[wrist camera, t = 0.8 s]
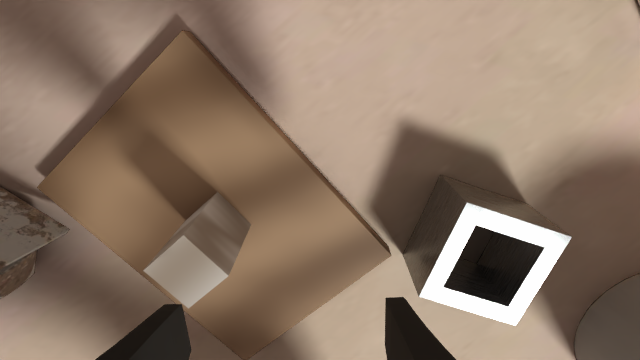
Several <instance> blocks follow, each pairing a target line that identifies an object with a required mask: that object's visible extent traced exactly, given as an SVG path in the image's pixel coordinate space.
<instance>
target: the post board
mask: <svg viewBox="0 0 640 360" xmlns="http://www.w3.org/2000/svg"><path fill="white" fill-rule="evenodd" d="M37 188H38V189H39V190H40V191H42V192H43V193H44V194H45V195H46V196H47V197H49V198H50V199H51V200H52V201H53V202H55V203H56V204H57V205H58V206H59V207H61V208H62V209H63V210H64V211H65V212H67V213H68V214H69V215H70V216H71V217H73V218H74V219H75V220H76V221H77V222H79V223H80V224H81V225H82V226H83V227H85V228H86V229H87V230H88V231H89V232H91V233H92V234H93V235H94V236H95V237H97V238H98V239H99V240H100V241H101V242H103V243H104V244H105V245H106V246H107V247H109V248H110V249H111V250H112V251H113V252H115V253H116V254H117V255H118V256H119V257H121V258H122V259H123V260H124V261H125V262H127V263H128V264H129V265H130V266H131V267H133V268H134V269H135V270H136V271H137V272H138V273H140V274H141V275H142V276H143V277H144V278H146V279H147V280H148V281H149V282H150V283H152V284H153V285H154V286H155V287H156V288H158V289H159V290H160V291H161V292H162V293H164V294H165V295H166V296H167V297H168V298H170V299H171V300H172V301H173V302H174V303H176V304H182V307H183V310H184V311H185V312H186V313H188V314H189V315H190V316H191V317H192V318H194V319H195V320H196V321H197V322H198V323H200V324H201V325H202V326H203V327H204V328H206V329H207V330H208V331H209V332H210V333H212V334H213V335H214V336H215V337H216V338H218V339H219V340H220V341H221V342H222V343H224V344H225V345H226V346H227V347H228V348H229V349H231V350H232V351H233V352H234V353H235V354H237V355H238V356H239V357H240V358H241V359H243V360H247V359H249V358H250V357H251V356H253V355H254V354H256V353H257V352H258V351H260V350H261V349H263V348H264V347H265V346H267V345H268V344H269V343H271V342H272V341H274V340H275V339H276V338H278V337H279V336H281V335H282V334H283V333H285V332H286V331H287V330H289V329H290V328H292V327H293V326H294V325H296V324H297V323H299V322H300V321H301V320H303V319H304V318H305V317H307V316H308V315H310V314H311V313H312V312H314V311H315V310H317V309H318V308H319V307H321V306H322V305H323V304H325V303H326V302H328V301H329V300H330V299H332V298H333V297H335V296H336V295H337V294H339V293H340V292H341V291H343V290H344V289H346V288H347V287H348V286H350V285H351V284H353V283H354V282H355V281H357V280H358V279H359V278H361V277H362V276H364V275H365V274H366V273H368V272H369V271H371V270H372V269H373V268H375V267H376V266H377V265H379V264H380V263H382V262H383V261H384V260H386V259H387V258H389V257H390V256H391V253H390V250H389V247H388V246H387V245H386V244H385V242H384V241H383V240H382V239H381V238H380V237H379V236H378V235H377V234H376V233H375V232H374V231H373V229H372V228H371V227H370V226H369V225H368V224H367V223H366V222H365V221H364V220H363V219H362V218H361V216H360V215H359V214H358V213H357V212H356V211H355V210H354V209H353V208H352V207H351V206H350V205H349V203H348V202H347V201H346V200H345V199H344V198H343V197H342V196H341V195H340V194H339V193H338V192H337V190H336V189H335V188H334V187H333V186H332V185H331V184H330V183H329V182H328V181H327V180H326V179H325V177H324V176H323V175H322V174H321V173H320V172H319V171H318V170H317V169H316V168H315V167H314V166H313V164H312V163H311V162H310V161H309V160H308V159H307V158H306V157H305V156H304V155H303V154H302V153H301V151H300V150H299V149H298V148H297V147H296V146H295V145H294V144H293V143H292V142H291V141H290V140H289V138H288V137H287V136H286V135H285V134H284V133H283V132H282V131H281V130H280V129H279V128H278V127H277V125H276V124H275V123H274V122H273V121H272V120H271V119H270V118H269V117H268V116H267V115H266V114H265V112H264V111H263V110H262V109H261V108H260V107H259V106H258V105H257V104H256V103H255V102H254V101H253V99H252V98H251V97H250V96H249V95H248V94H247V93H246V92H245V91H244V90H243V89H242V88H241V86H240V85H239V84H238V83H237V82H236V81H235V80H234V79H233V78H232V77H231V76H230V75H229V73H228V72H227V71H226V70H225V69H224V68H223V67H222V66H221V65H220V64H219V63H218V62H217V60H216V59H215V58H214V57H213V56H212V55H211V54H210V53H209V52H208V51H207V50H206V49H205V47H204V46H203V45H202V44H201V43H200V42H199V41H198V40H197V39H196V38H195V37H194V36H193V34H192V33H191V32H189V31H183V30H182V31H181V32H180V33H179V35H178V36H177V37H176V38H175V39H174V40H173V41H172V42H171V43H170V44H169V45H168V46H167V47H166V49H165V50H164V51H163V52H162V53H161V54H160V55H159V56H158V57H157V58H156V59H155V60H154V62H153V63H152V64H151V65H150V66H149V67H148V68H147V69H146V70H145V71H144V72H143V73H142V74H141V76H140V77H139V78H138V79H137V80H136V81H135V82H134V83H133V84H132V85H131V86H130V87H129V89H128V90H127V91H126V92H125V93H124V94H123V95H122V96H121V97H120V98H119V99H118V100H117V101H116V103H115V104H114V105H113V106H112V107H111V108H110V109H109V110H108V111H107V112H106V113H105V114H104V115H103V117H102V118H101V119H100V120H99V121H98V122H97V123H96V124H95V125H94V126H93V127H92V128H91V130H90V131H89V132H88V133H87V134H86V135H85V136H84V137H83V138H82V139H81V140H80V141H79V142H78V144H77V145H76V146H75V147H74V148H73V149H72V150H71V151H70V152H69V153H68V154H67V155H66V157H65V158H64V159H63V160H62V161H61V162H60V163H59V164H58V165H57V166H56V167H55V168H54V169H53V171H52V172H51V173H50V174H49V175H48V176H47V177H46V178H45V179H44V180H43V181H42V182H41V183H40V185H39V186H38V187H37Z"/></svg>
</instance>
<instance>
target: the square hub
mask: <svg viewBox="0 0 640 360" xmlns="http://www.w3.org/2000/svg"><path fill="white" fill-rule="evenodd" d="M476 225H477V226H480V227H483V228H486V229H489V230H492V231H495V232H494V234H493V236H492V238H491V239H490V241H489V243H488V245H487V247H486V248H485V250H484V252H483V254H482V256H481V258H480V259H479V261H478V263H477V264H476V263H473V262H470V261H466V260H463V259H460V258H459V256H460V254H461V252H462V250H463V249H464V247H465V245H466V243H467V241H468V239H469V237H470V235H471V233H472V232H473V230H474V228H475V226H476ZM571 238H572V237H571V236H570V235H569V234H567V233H566V232H564V231H563V230H562V229H560V228H559V227H558V226H556V225H555V224H554V223H552V222H551V221H550V220H548V219H547V218H546V217H544V216H543V215H541V214H540V213H539V212H537V211H536V210H535V209H533V208H532V207H531V206H529V205H528V204H526V203H523V202H520V201H517V200H514V199H511V198H508V197H505V196H502V195H499V194H496V193H493V192H490V191H487V190H484V189H481V188H478V187H475V186H472V185H469V184H466V183H463V182H460V181H457V180H454V179H451V178H448V177H445V176H442V175H440V177H439V179H438V181H437V183H436V186H435V188H434V190H433V192H432V194H431V196H430V198H429V200H428V203H427V205H426V207H425V209H424V211H423V213H422V215H421V217H420V219H419V222H418V224H417V226H416V228H415V230H414V232H413V234H412V236H411V239H410V241H409V243H408V245H407V247H406V249H405V251H404V253H403V257H404V259H405V262H406V264H407V267H408V270H409V272H410V275H411V277H412V280H413V283H414V285H415V288H416V290H417V293H418V296H419V297H422V298H425V299H429V300H432V301H435V302H439V303H442V304H445V305H449V306H452V307H455V308H459V309H462V310H465V311H469V312H472V313H475V314H479V315H482V316H485V317H489V318H492V319H495V320H499V321H502V322H505V323H509V324H512V325H515V326H516V324H517V323H518V321H519V319H520V318H521V316H522V315H523V313H524V312H525V310H526V308H527V307H528V305H529V304H530V302H531V301H532V299H533V297H534V296H535V294H536V293H537V291H538V290H539V288H540V286H541V285H542V283H543V282H544V280H545V279H546V277H547V276H548V274H549V272H550V271H551V269H552V268H553V266H554V265H555V263H556V261H557V260H558V258H559V257H560V255H561V254H562V252H563V250H564V249H565V247H566V246H567V244H568V243H569V241H570V239H571Z"/></svg>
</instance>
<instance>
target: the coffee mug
mask: <svg viewBox="0 0 640 360" xmlns="http://www.w3.org/2000/svg"><path fill="white" fill-rule="evenodd" d="M574 347H575V356H576V359H577V360H640V274H638V275H635V276H633V277H630V278H628V279H626V280H624V281H622V282H620V283H619V284H617V285H615V286H614V287H612V288H611V289H609V290H608V291H606V292H605V293H604V294H603V295H602V296H601V297H600V298H599V299H597V300H596V301H595V302H594V303H593V304H592V305H591V306H590V308H589V309H588V310H587V312H586V313H585V315H584V317H583V318H582V320H581V321H580V324H579V326H578V328H577V332H576V336H575V342H574Z"/></svg>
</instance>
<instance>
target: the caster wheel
mask: <svg viewBox="0 0 640 360" xmlns="http://www.w3.org/2000/svg"><path fill="white" fill-rule="evenodd" d="M68 231H69V228H67V227H65V226H64V225H62V224H61V223H59V222H57V221H56V220H54V219H52V218H51V217H49V216H47V215H46V214H44V213H43V212H41V211H39V210H38V209H36V208H34V207H33V206H31V205H29V204H28V203H26V202H25V201H23V200H21V199H20V198H18V197H16V196H15V195H13V194H11V193H10V192H8V191H7V190H5V189H3V188H2V187H0V299H1V298H3V297H5V296H6V295H8V294H9V293H11V292H12V291H14V290H15V289H17V288H18V287H19V286H20V285H22V284H23V283H24V282H25V281H26V280H27V279H29V278H30V277H31V276H32V275H33V274H34V273H35V264H36V253H37V249H39V248H41V247H43V246H44V245H46V244H48V243H50V242H52V241H54V240H55V239H57V238H59V237H61V236H63V235H65V234H66V233H67V232H68Z"/></svg>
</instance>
